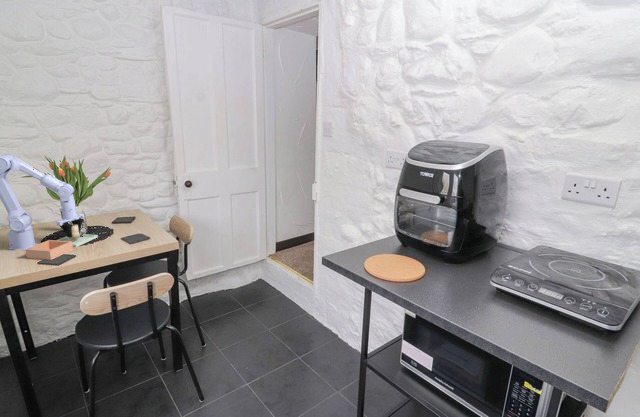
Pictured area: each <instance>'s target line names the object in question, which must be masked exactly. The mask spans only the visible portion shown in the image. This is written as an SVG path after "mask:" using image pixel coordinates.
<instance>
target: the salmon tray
mask: <svg viewBox="0 0 640 417" xmlns="http://www.w3.org/2000/svg"><path fill="white" fill-rule="evenodd" d="M56 240H57V239H56ZM56 240H55V239H54V240H53V239H48V240H45V241H43V242H41V243H39V244H38V245H35V246H33V247H30V248H28V249H25V250H24V251H25V256H26V259H36V260H48V261H51V260H53V259H57V258H58V257H60V256H62V255H65V254H67V253H69V252H71V251H73V250H74V247H73V245H72V241H56Z"/></svg>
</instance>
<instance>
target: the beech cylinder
mask: <svg viewBox="0 0 640 417" xmlns="http://www.w3.org/2000/svg"><path fill="white" fill-rule="evenodd" d="M80 234H81V233H80ZM80 234H79V228H78V225H77V224H73V225H72V237H69V239H70V240H74V239H78V238H80Z"/></svg>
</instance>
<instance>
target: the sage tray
mask: <svg viewBox="0 0 640 417" xmlns="http://www.w3.org/2000/svg"><path fill="white" fill-rule="evenodd" d="M82 234H83V235H82V236H83V237H80V238H78V239H74V240H70V239H69V237H67V236H66V235H65V236H64V237H61V238H58V239H56V241H72V245H73V248H77V247H79V246H81V245H84V244H86V243H88V242H90V241H93V240H97V239H99V236H98V234H85V233H82ZM96 238H97V239H96Z"/></svg>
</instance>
